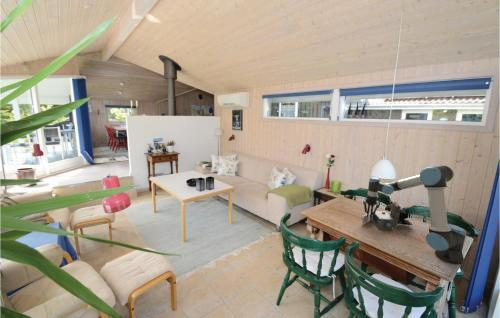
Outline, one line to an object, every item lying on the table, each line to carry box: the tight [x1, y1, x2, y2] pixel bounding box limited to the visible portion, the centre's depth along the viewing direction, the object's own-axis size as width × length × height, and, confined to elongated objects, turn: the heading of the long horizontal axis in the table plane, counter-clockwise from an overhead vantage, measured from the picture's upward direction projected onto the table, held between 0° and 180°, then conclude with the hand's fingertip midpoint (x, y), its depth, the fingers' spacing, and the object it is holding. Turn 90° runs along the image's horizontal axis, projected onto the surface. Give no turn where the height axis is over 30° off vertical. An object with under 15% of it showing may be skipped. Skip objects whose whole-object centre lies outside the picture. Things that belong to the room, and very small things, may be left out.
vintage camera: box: [389, 201, 413, 228], centre depth 205 cm, size 10×16×20 cm, turn 78°
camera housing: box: [371, 210, 393, 230], centre depth 206 cm, size 19×11×10 cm, turn 171°
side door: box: [361, 211, 372, 224], centre depth 212 cm, size 15×2×8 cm, turn 126°
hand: (368, 220), depth 207 cm, fingers closed
